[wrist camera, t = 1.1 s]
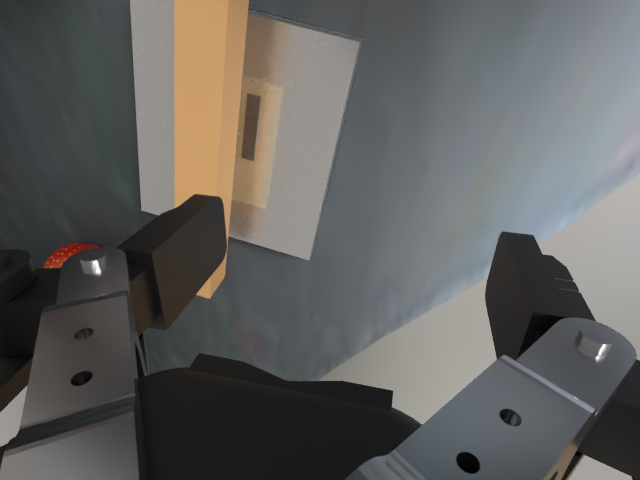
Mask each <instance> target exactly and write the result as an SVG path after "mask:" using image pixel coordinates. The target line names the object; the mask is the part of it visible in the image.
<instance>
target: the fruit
mask: <svg viewBox="0 0 640 480" xmlns="http://www.w3.org/2000/svg"><path fill="white" fill-rule="evenodd" d="M96 247H101V246H98V245H95V244H89V243H73V244H68V245H65V246H63V247H60V248H58V249H57V250H55V251H54V252H53V253H52V254H51V255H50V256H49V258H48V259H47V261H46V263H45V265H44V268H61V266H62V264H63V262H64V261H65V260H66V259H68V258H69V257H70V256H72V255H74V254H76V253H78V252H81V251H83V250H87V249H91V248H96Z"/></svg>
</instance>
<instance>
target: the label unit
mask: <svg viewBox="0 0 640 480" xmlns="http://www.w3.org/2000/svg"><path fill="white" fill-rule="evenodd" d="M130 10H131V29H132V47H133V65H134V84H135V102H136V120H137V138H138V157H139V175H140V193H141V210H142V211H145V212H149V213H152V214H155V215H160V214H162V213H164V212H166V211H169V210H171V209H174V208H175V103H174V0H130ZM363 40H364V38H361V37H357V36H353V35H349V34H345V33H341V32H337V31H333V30H329V29H326V28H322V27H318V26H314V25H310V24H306V23H302V22H298V21H294V20H290V19H286V18H283V17H279V16H275V15H271V14H267V13H263V12H259V11H255V10H251V9H248V17H247V28H246V40H245V51H244V63H243V74H242V85H241V97H240V108H239V120H238V131H237V143H236V154H235V165H234V177H233V188H232V200H231V211H230V223H229V234H228V236H229V237H232V238H236V239H239V240H242V241H246V242H249V243H252V244H256V245H259V246H262V247H266V248H269V249H272V250H276V251H279V252H282V253H286V254H289V255H293V256H296V257H299V258H303V259H306V260H310V258H311V255H312V253H313V250H314V248H315V244H316V240H317V235H318V231H319V227H320V223H321V218H322V214H323V210H324V206H325V201H326V197H327V193H328V189H329V184H330V180H331V176H332V172H333V167H334V163H335V159H336V155H337V150H338V146H339V142H340V138H341V133H342V129H343V125H344V121H345V116H346V112H347V108H348V104H349V99H350V95H351V91H352V87H353V82H354V78H355V74H356V70H357V65H358V61H359V57H360V53H361V48H362V44H363Z"/></svg>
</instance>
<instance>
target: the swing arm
mask: <svg viewBox="0 0 640 480" xmlns="http://www.w3.org/2000/svg"><path fill="white" fill-rule="evenodd" d="M248 5H249V0H174V103H175V208H176V207H178V206H180V205H181V204H182V203H184V202H185V201H186V200H187V199H189V198H190V197H191V196H193V195H194V194H201V195H209V196H218V197H220V198H221V199H222V201H223V205H224V216H225V227H226V238H227V245H228V234H229V223H230V211H231V200H232V188H233V177H234V165H235V154H236V143H237V131H238V120H239V108H240V97H241V85H242V74H243V63H244V51H245V40H246V28H247V17H248ZM226 257H227V250H226V255H225V258H224V260H223V262H222V263H221V264H220V266H219V267H218V268H217V269H216V271H215V272H214V273H213V274H212V275H211V277H210V278H209V279H208V280H207V282H206V283H205V284H204V285H203V286H202V288H201V289H200V290H199V291H198V293H197V294H196V295H199V296H202V297H205V298H208V299H210V298H211V296H212V295H213V293H214V292H215V290H216V289H217V287H218V286H219V284H220V283H221V281H222V280H223V279H224V277H225V268H226Z"/></svg>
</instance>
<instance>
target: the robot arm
mask: <svg viewBox="0 0 640 480" xmlns="http://www.w3.org/2000/svg"><path fill="white" fill-rule="evenodd" d="M226 250H227V238H226V227H225V216H224V205H223V201H222V199H221V198H220V197H218V196H209V195H201V194H194V195H193V196H191V197H190V198H189V199H187V200H186V201H185V202H184V203H182V204H181V205H180V206H178V207H176V208H174V209H171V210H169V211H166V212H164V213H162V214H160V215H159V216H158V217H156V218H155V219H154V220H152V221H151V223H148V224H147V225H146V226H144V227H143V228H142V230H139V231H138V232H137V233H135V234H134V235H133V236H131V237H130V238H129V239H127V240H126V241H125V242H123V243H122V244H121V245H119V246H118V247H117V248H115V247H96V248H91V249H87V250H83V251H81V252H78V253H76V254H74V255H72V256H70V257H69V258H68V259H66V260H65V261H64V262H63V264H62V266H61V268H40V269H35V267H34V265H33V262H32V259H31V256H30V254H29V253H28V252H26V251H23V250H16V249H10V250H1V251H0V412H1V411H2V410H3V409H4V408H5V407H6V406H7V405H8V404H9V402H11V401H12V400H13V399H14V398H15V397H16V396H17V395H18V394H19V393H20V392H21V391H22V390H23V389H24V388H25V387H26V386H27V385H28V387H27V393H26V398H25V403H24V408H23V414H22V419H21V424H20V429H19V432H18V434H17V436H16V437H14V438H12V439H11V440H10V441H9V443H8V444H6V445H4V446H1V447H0V480H568V479H569V478H570V477H571V475H572V474H573V472H574V471H575V469H576V467H577V466H578V465H579V463H580V462H581V460H582V459H583V457H584V456H585V455H586V456H589V457H591V458H593V459H595V460H597V461H599V462H601V463H604V464H606V465H608V466H610V467H613V468H615V469H617V470H619V471H621V472H623V473H626V474H628V475H630V476H632V479H633V480H640V361H639V360H637V359H636V357H637V355H636V351H635V349H634V347H633V345H632V344H631V343H630V342H629V341H628V340H627V339H626V338H625V337H624V336H623V335H621V334H620V333H619V332H617V331H615V330H614V329H612V328H610V327H608V326H606V325H604V324H601V323H598V322H596V320H595V319H594V317H593V315H592V313H591V311H590V309H589V308H588V306H587V304H586V302H585V300H584V298H583V297H582V295H581V293H579V290H578V287H577V286H576V284H575V282H573V278H572V277H571V275H570V273H569V271H568V269H567V267H565V266H564V265H563V264H562V263H560V262H559V261H558V260H556V259H555V258H554V257H553V256H550V255H542V253H541V251H540V248H539V246H538V244H537V242H536V240H535V238H534V236H533V235H528V234H519V233H511V232H502V233H501V234H500V236H499V239H498V243H497V246H496V250H495V254H494V258H493V261H492V265H491V269H490V272H489V276H488V280H487V285H486V293H485V296H486V297H485V298H486V299H485V300H486V307H487V312H488V317H489V321H490V326H491V332H492V336H493V341H494V346H495V351H496V356H497V360H496V361H495V362H494V363H493V364H491V365H490V366H489V367H488V368H487V369H486V370H485V371H483V373H481V374H480V375H479V376H478V377H477V378H476V379H474V380H473V381H472V382H471V383H470V384H469V385H467V386H466V387H465V388H464V389H463V390H462V391H461V392H460V393H458V394H457V395H456V396H455V397H454V398H453V399H452V400H450V401H449V402H448V403H447V404H446V405H445V406H443V407H442V408H441V409H440V410H439V411H438V412H437V413H435V414H434V415H433V416H432V417H431V418H430V419H429V420H427V421H426V422H425V423H424V424H423V425H422V424H420V423H419V422H417V421H416V420H415V419H413V418H412V417H410V416H408V415H406V414H405V413H403V412H401V411H399V410H397V409H395V408H392V397H393V391H391V390H386V389H381V388H376V387H371V386H365V385H361V384H355V383H350V382H345V381H286V380H283V379H281V378H279V377H277V376H274V375H272V374H270V373H268V372H265V371H263V370H261V369H259V368H256V367H254V366H252V365H250V364H248V363H245V362H242V361H237V360H232V359H227V358H222V357H216V356H211V355H206V354H201V353H199V354H198V355H197V357H196V358H195V360H194V361H193V363H192V364H191V366H190V367H184V368H175V369H169V370H164V371H160V372H157V373H153V374H150V372H149V364H148V356H147V349H146V341H145V337H144V333H143V332H144V331H145V330H146V328H147V327H151V328H156V329H162V330H167V329H168V328H169V327H170V325H171V324H172V323H173V322H174V321H175V319H176V318H177V317H178V316H179V314H180V313H181V312H182V311H183V310H184V308H185V307H186V306H187V305H188V303H189V302H190V301H191V300H192V299H193V297H194V296H195V295H196V294H197V293H198V291H199V290H200V289H201V288H202V286H203V285H204V284H205V283H206V282H207V280H208V279H209V278H210V277H211V275H212V274H213V273H214V272H215V271H216V269H217V268H218V267H219V266H220V264H221V263H222V262H223V260H224V258H225V255H226Z"/></svg>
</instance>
